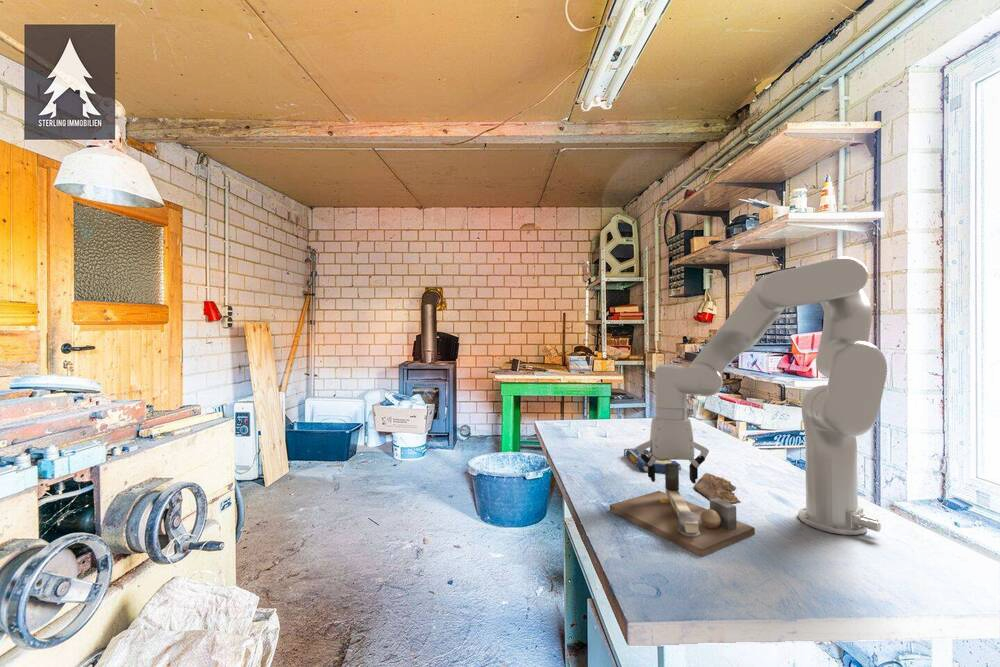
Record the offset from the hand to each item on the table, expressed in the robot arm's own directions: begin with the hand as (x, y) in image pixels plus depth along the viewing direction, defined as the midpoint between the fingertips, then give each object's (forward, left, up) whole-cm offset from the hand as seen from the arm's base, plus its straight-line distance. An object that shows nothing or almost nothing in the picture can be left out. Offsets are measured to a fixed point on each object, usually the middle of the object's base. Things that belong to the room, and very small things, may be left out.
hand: (672, 480), depth 111 cm
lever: (-7, +6, -5) cm, 10 cm away
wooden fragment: (+3, -21, -7) cm, 23 cm away
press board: (-6, +6, -7) cm, 11 cm away
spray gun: (+27, -24, -7) cm, 37 cm away
